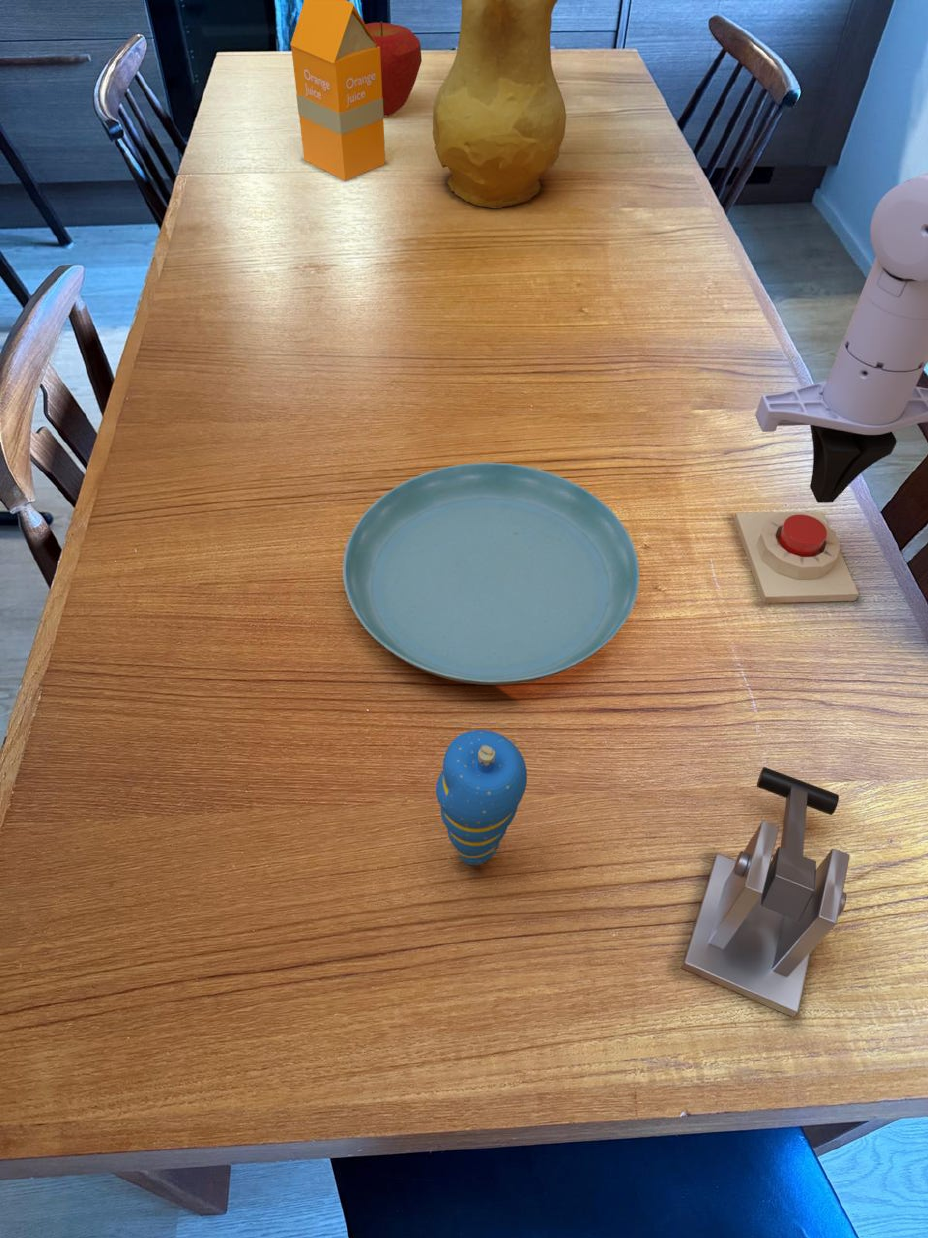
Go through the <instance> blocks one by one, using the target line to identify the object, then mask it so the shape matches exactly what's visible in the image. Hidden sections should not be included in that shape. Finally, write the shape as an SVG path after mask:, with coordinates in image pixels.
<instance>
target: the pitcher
mask: <svg viewBox="0 0 928 1238" xmlns="http://www.w3.org/2000/svg"><path fill="white" fill-rule="evenodd" d="M558 1H559V0H461V19H460V30H459V31H460V32H459V36H458V44H457V49H456V53H455V57H454V60H453V63H452V65H451V67H450V70H449V72H448V74H447V76H446V77H445V79H444V80H443V82H442V83H441V85H440V87H439V89H438V92H437V93H436V97H435V100H434V103H433V111H432V116H433V117H432V138H433V142H434V149H435V152H436V153H435V154H436V155H437V158H438V161H439V163H440V165H441V167H442V168H443V169H445V168H447V167H448V170H449V173H450V174H451V176H449V177H448V180H447V185H448V187H449V189H450V191H451V192H453V193H454V194H455V196H457V197H458V198H461V200H464V201H465V202H466V203H469V204H472V205H475V206H478V207H484V208H489V209H501V208H503V207H504V208H505V207H513V206H515V205H519V204H522V203H526V202H529V201H530V200H531V199H533V198H534V197H535V196H536V195H538V193H540V190H541V188H542V186H541V183H540V177H542V175H544V173H546V172H547V171H549V170H550V169H551V168H552V167H553V166H554V164H555V163H556V161H557V160H558V159H559V157H560V148H561V145H562V143H563V141H564V139H565V134H566V125H567V124H566V123H567V113H566V112H567V111H566V105H565V102H564V97H563V95H562V91H561V89H560V86H559V85H558V82H557V80H556V78H555V77H556V76H555V74H554V70H553V65H552V49H551V34H552V22H553V21H552V20H553V19H552V13H553V11H554V8H555V5H556V4H557V3H558Z"/></svg>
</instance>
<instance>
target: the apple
mask: <svg viewBox="0 0 928 1238" xmlns="http://www.w3.org/2000/svg"><path fill="white" fill-rule="evenodd" d="M365 25H366V27H367V28H368V30H369V32H370V33H371V35H372V37H373V38H374V40H375V42H376V43H377V45H378V46H379V47H380V60H381V81H382V98H383V115H384V117H389V116H393V115H394V114H396V112H398V111H399V110H400V109H401V108H403V107H404V106H405V105H406V103H407V102H408V99H409V97H410V95H411V93H412V90H413V88H414V86H415V83H416V81H417V77H418V74H419V71H420V67H421V66H422V65H421V64H422V62H423V61H422V46H421V42H420V39H419V38H418V37H417V36H416V35H415V33H413V31H412V30H410V28H407V27H405V26H402V25H399V24H393V23H388V22H383V20H381V21H380V22H371V23H365Z"/></svg>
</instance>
